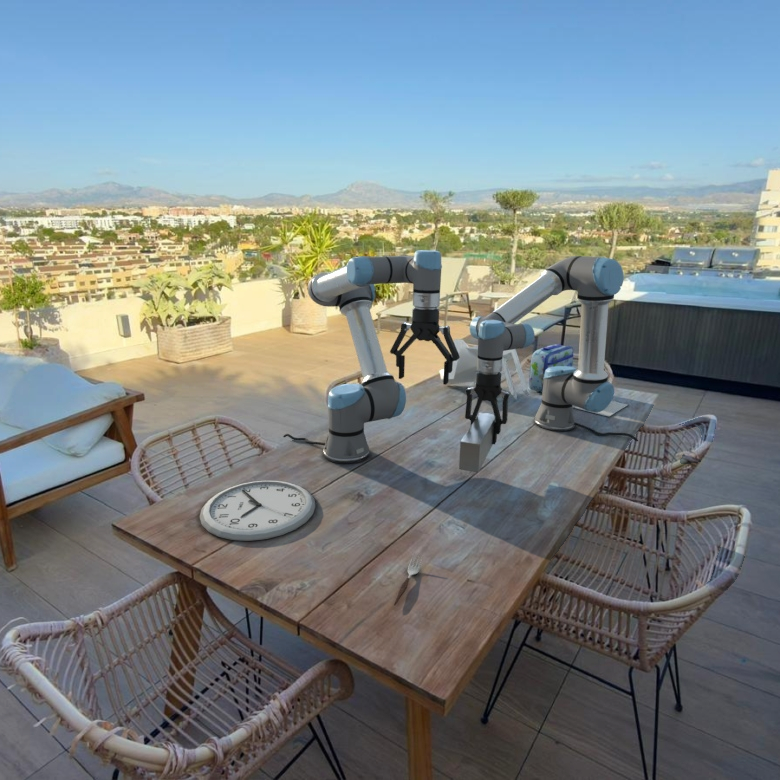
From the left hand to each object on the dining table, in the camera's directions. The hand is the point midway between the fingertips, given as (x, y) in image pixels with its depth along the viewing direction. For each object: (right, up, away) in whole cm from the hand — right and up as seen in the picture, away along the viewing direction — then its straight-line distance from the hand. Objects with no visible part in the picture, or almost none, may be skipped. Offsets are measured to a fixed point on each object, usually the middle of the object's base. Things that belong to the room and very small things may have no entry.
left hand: (423, 380), depth 152 cm
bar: (+17, -22, +7) cm, 29 cm away
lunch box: (+67, -2, +98) cm, 118 cm away
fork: (-6, -44, -40) cm, 60 cm away
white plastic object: (+32, -4, +91) cm, 96 cm away
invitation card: (+82, -10, +74) cm, 111 cm away
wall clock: (-45, -35, -12) cm, 58 cm away
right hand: (+21, -19, +15) cm, 32 cm away
